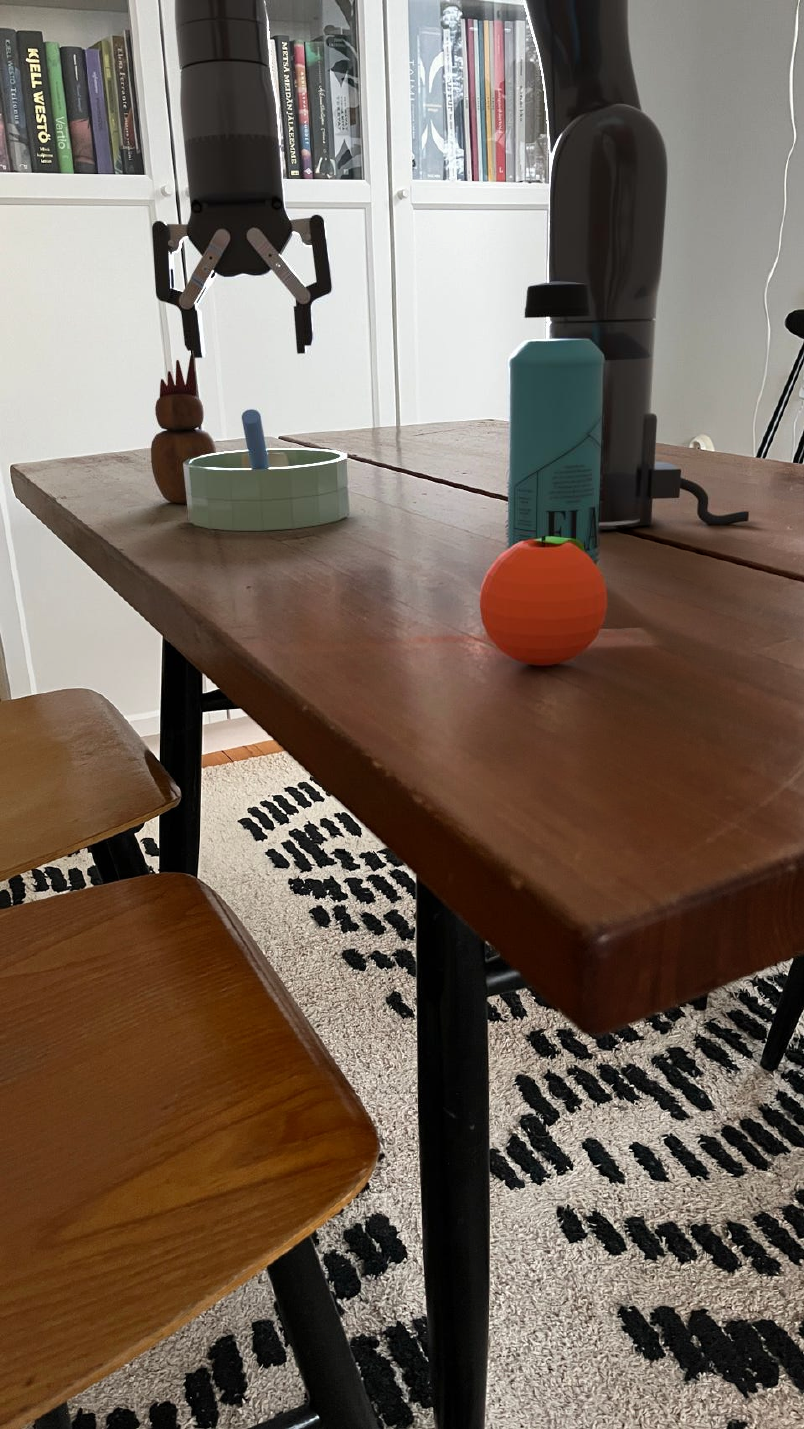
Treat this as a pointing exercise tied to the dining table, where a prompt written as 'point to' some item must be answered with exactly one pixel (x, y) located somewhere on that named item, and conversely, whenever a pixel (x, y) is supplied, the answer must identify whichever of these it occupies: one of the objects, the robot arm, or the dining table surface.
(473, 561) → the dining table surface
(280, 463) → the brown block
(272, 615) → the dining table surface
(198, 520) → the mint green round tray
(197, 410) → the wooden figurine
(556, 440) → the beverage bottle
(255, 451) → the frame with upright peg
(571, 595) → the clementine
